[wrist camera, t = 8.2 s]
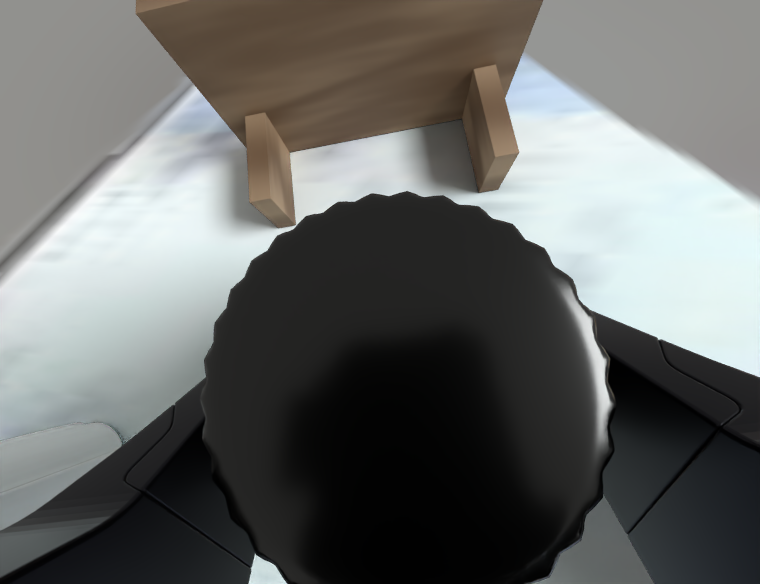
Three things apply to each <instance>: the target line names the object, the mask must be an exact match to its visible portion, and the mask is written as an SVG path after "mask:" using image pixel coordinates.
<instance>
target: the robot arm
mask: <svg viewBox="0 0 760 584" xmlns="http://www.w3.org/2000/svg"><path fill="white" fill-rule="evenodd" d="M590 311H591V310H590ZM591 312H592V313H593V314H594V316H595V319H596V326H597V339H598V341H599V343H600V344H601V345H602V346H603V348H604V349H605V351H606V352H607V354H608V356H609V358H610V367H609V375H608V383H609V385H610V388H611V390H612V392H613V394H614V397H615V400H616V403H617V406H616V409H615V413H614V416H613V419H612V422H611V424H610V431H611V435H612V437H613V442H614V448H615V452H614V454H613V456H612V458H611V459H610V461H609V463H608V464H607V466H606V468H605V469H604V471H603V494H604V495H605V497H606V499H607V501H608V502H609V504H610V506H611V508H612V510H613V511H614V513H615V515H616V517H617V518H618V520H619V522H620V524H621V525H622V527H623V529H624V531H625V532H626V533H627V534H628V538H629V540H630V542H631V543H632V545H633V547H634V549H635V550H636V552H637V554H638V556H639V557H640V559H641V561H642V563H643V564H644V566H645V568H646V570H647V572H648V573H649V575H650V577H651V579H652V580H653V582H654V584H760V377H757V376H755V375H752V374H749V373H746V372H744V371H741V370H738V369H735V368H733V367H730V366H727V365H725V364H722V363H719V362H716V361H714V360H711V359H709V358H706V357H704V356H701V355H699V354H696V353H694V352H691V351H688V350H686V349H683V348H681V347H679V346H676V345H674V344H671V343H669V342H667V341H664V340H658V338H657V337H654V336H652V335H649V334H647V333H645V332H642V331H640V330H637V329H635V328H632V327H630V326H628V325H625V324H623V323H620V322H618V321H615V320H613V319H611V318H608V317H606V316H603V315H601V314H598V313H596V312H594V311H591ZM205 382H206V378H205V379H203V380H202V381H201V382H200V383H199V384H197V385H196V386H195V387H194V388H193V389H191V390H190V391H189V392H188V393H187V394H185V395H184V396H183V397H182V398H181V399H179V400H178V401H177V402H176V403H175V405H172V406H171V407H170V408H168V409H167V410H166V411H165V412H164V413H162V414H161V415H160V416H159V417H158V418H156V419H155V420H154V421H153V422H151V423H150V424H149V425H148V426H147V427H145V428H144V429H143V430H142V431H140V432H139V433H138V434H137V435H135V436H134V437H133V438H131V439H130V440H129V441H127V442H126V443H125V444H124V445H122V446H121V447H120V448H118V449H117V450H116V451H114V452H113V453H112V454H111V455H109V456H108V457H107V458H105V459H104V460H103V461H101V462H100V463H99V464H97V465H96V466H95V467H93V468H92V469H91V470H89V471H88V472H87V473H85V474H84V475H83V476H81V477H80V478H79V479H77V480H76V481H75V482H73V483H72V484H71V485H69V486H68V487H67V488H65V489H64V490H63V491H61V492H60V493H59V494H57V495H56V496H55V497H53V498H52V499H51V500H49V501H48V502H47V503H45V504H44V505H43V506H41V507H40V508H38V509H37V510H36V511H34V512H32V513H31V514H29V515H28V516H26V517H24V518H23V519H21V520H19V521H18V522H16V523H14V524H12V525H10V526H8V527H7V528H5V529H2V530H0V584H248V583H249V579H250V574H251V567H252V564H253V560H254V555H255V551H254V549H253V547H252V545H251V542H250V540H249V537H248V534H247V532H245V531H244V530H243V529H242V528H241V527H239V526H237V525H236V524H235V523H234V522H233V521H232V520H231V519H230V516H229V512H228V508H227V503H226V497H225V495H224V494H223V493H222V491H221V490H220V489H218V487H217V486H216V485H215V483H214V482H213V481H212V473H211V456H210V454H209V453H208V451H207V449H206V447H205V445H204V443H203V440H202V434H203V428H204V424H205V415H204V412H203V409H202V406H201V402H200V396H201V393H202V389H203V387H204V385H205Z"/></svg>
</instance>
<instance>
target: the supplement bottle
mask: <svg viewBox="0 0 760 584" xmlns="http://www.w3.org/2000/svg"><path fill="white" fill-rule="evenodd" d="M204 364H205V373H206V382H205V385H204V387H203V389H202V393H201V396H200V402H201V406H202V409H203V412H204V415H205V424H204V428H203V434H202V440H203V443H204V445H205V447H206V449H207V451H208V453H209V454H210V456H211V473H212V481H213V482H214V483H215V485H216V486H217V487H218V489H220V490H221V491H222V493H223V494H224V495H225V497H226V503H227V508H228V512H229V516H230V519H231V520H232V521H233V522H234V523H235V524H236V525H237V526H239V527H241V528H242V529H243V530H244V531H245V532H247V534H248V537H249V540H250V542H251V545H252V547H253V549H254V551H255V554H256V555H257V556H259V557H260V558H262V559H264V560H265V561H269V562H271V563H272V564H274V565H276V567H277V569H278V570H279V572H280V574H281V575H282V577H283V578H284V580H285V581H286V583H287V584H532V583H535V582H538V581H541V580H544V579H546V578H549V577H550V575H551V574H552V572H553V570H554V568H555V566H556V563H557V561H558V558H559V556H560V554H561V553H562V552H564V551H566V550H567V549H569V548H571V547H572V546H574V545H575V544H577V543H578V542H579V541H581V538H582V535H583V531H584V522H585V518H586V515H587V514H588V513H589V512H590V511H591V510H592V509H593V508H594V507H595V506H596V505H597V504H598V503H599V501H600V500H601V499H602V498H603V471H604V469H605V468H606V466H607V464H608V463H609V461H610V459H611V458H612V456H613V454H614V452H615V448H614V442H613V437H612V435H611V431H610V424H611V422H612V419H613V416H614V413H615V409H616V406H617V403H616V400H615V397H614V394H613V392H612V390H611V388H610V385H609V383H608V375H609V367H610V358H609V356H608V354H607V352H606V351H605V349H604V348H603V346H602V345H601V344H600V343H599V341H598V339H597V326H596V319H595V316H594V314H593V313H592V312H591V311H590V310H589V309H588V308H587V307H586V306H585V305H583V304H582V302H581V301H580V300H579V298H578V296H577V291H576V287H575V284H574V281H573V279H572V278H570V277H569V276H568V275H567V274H565V273H564V272H562V271H561V270H559V269H558V268H556V267H554V265H553V264H552V262H551V259H550V257H549V255H548V253H547V252H546V250H545V248H543V247H541V246H539V245H537V244H535V243H532V242H530V241H527V240H525V239H524V237H523V236H522V235H521V233H520V232H519V231H518V229H517V228H516V227H515V226H514V225H513V224H511V223H508V222H504V221H500V220H496V219H492V218H491V217H490V216H489V215H488V214H487V213H486V212H485V211H484V210H483V209H481V208H480V207H479V206H471V205H458V204H456V203H454V202H453V201H452V200H451V199H449V198H447V197H445V196H443V195H442V196H431V197H421V196H418V195H417V194H414V193H411V192H408V191H406V192H402V193H398V194H395V195H392V196H385V195H380V194H369V195H367V196H365V197H363V198H361V199H359V200H358V201H356V202H347V201H346V202H337V203H336V204H334V205H333V206H331V207H330V208H329V209H327V210H326V211H325V212H324V213H320V214H313V215H309V216H306V217H305V218H304V219H303V220H302V221H301V222H300V223H299V224H298V225H297V226H296V227H295V228H294V229H293V230H291V231H289V232H285V233H282V234H280V235H278V236H277V237H276V238H275V239H274V241H273V242H272V244H271V245H270V247H269V249H268V250H267V251H266V252H264V253H263V254H261V255H259V256H258V257H256V258H255V259H253V260H252V261H251V263H250V265H249V267H248V270H247V272H246V275H245V277H244V278H243V279H242V280H241V281H240V282H239V283H237V284H236V285H235V286H234V287H233V288H232V289H231V291H230V294H229V298H228V303H227V308H226V309H225V310H224V311H223V313H222V314H221V315H220V316H219V318H218V319H217V321H216V322H215V325H214V342H213V344H212V346H211V348H210V349H209V351H208V353H207V355H206V357H205V359H204Z"/></svg>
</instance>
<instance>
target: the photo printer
mask: <svg viewBox="0 0 760 584" xmlns="http://www.w3.org/2000/svg"><path fill="white" fill-rule="evenodd" d="M121 446H122V442H121V439H120V437H119V435H118V434H117V433H116V431H115V430H114V429H113V428H111V427H110V426H108V425H106V424H103V423H89V424H85V425H84V424H83V423H81V422H78V423H72V424H67V425H63V426H59V427H54V428H50V429H46V430H42V431H38V432H34V433H30V434H26V435H22V436H18V437H13V438H10V439H6V440H1V441H0V530H2V529H5V528H7V527H8V526H10V525H12V524H14V523H16V522H18V521H19V520H21V519H23V518H24V517H26V516H28V515H29V514H31V513H32V512H34V511H36V510H37V509H38V508H40V507H41V506H43V505H44V504H45V503H47V502H48V501H49V500H51V499H52V498H53V497H55V496H56V495H57V494H59V493H60V492H61V491H63V490H64V489H65V488H67V487H68V486H69V485H71V484H72V483H73V482H75V481H76V480H77V479H79V478H80V477H81V476H83V475H84V474H85V473H87V472H88V471H89V470H91V469H92V468H93V467H95V466H96V465H97V464H99V463H100V462H101V461H103V460H104V459H105V458H107V457H108V456H109V455H111V454H112V453H113V452H114V451H116V450H117V449H118V448H120V447H121Z"/></svg>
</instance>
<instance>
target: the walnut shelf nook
mask: <svg viewBox="0 0 760 584" xmlns="http://www.w3.org/2000/svg"><path fill="white" fill-rule="evenodd" d="M542 2H543V0H136V15H137V16H138V17H139V18H140V19H141V21H142V22H143V23H144V24H145V26H146V27H147V28H148V29H149V30H150V31H151V33H152V34H153V35H154V36H155V38H156V39H157V40H158V41H159V42H160V44H161V45H162V46H163V47H164V49H165V50H166V51H167V52H168V53H169V55H170V56H171V57H172V58H173V59H174V61H175V62H176V63H177V64H178V66H179V67H180V68H181V69H182V70H183V72H184V73H185V74H186V75H187V76H188V78H189V79H190V80H191V81H192V83H193V84H194V85H195V86H196V87H197V89H198V90H199V91H200V92H201V93H202V95H203V96H204V97H205V98H206V100H207V101H208V102H209V103H210V104H211V106H212V107H213V108H214V109H215V110H216V112H217V113H218V114H219V115H220V117H221V118H222V119H223V120H224V121H225V123H226V124H227V125H228V126H229V127H230V129H231V130H232V131H233V132H234V134H235V135H236V136H237V137H238V138H239V140H240V141H241V142H242V143H243V144H244V146H245V147H246V148H247V163H248V183H249V202H250V203H251V204H252V205H253V206H254V207H255V208H257V209H258V210H259V211H260V212H261V213H262V214H263V215H264V216H265V217H267V218H268V219H269V220H270V221H271V222H272V223H273V224H274V225H275V226H277V227H278V228H282V227H287V226H293V225H296V222H295V210H294V199H293V187H292V175H291V163H290V152H294V151H299V150H304V149H309V148H314V147H320V146H325V145H330V144H335V143H340V142H345V141H350V140H355V139H361V138H366V137H371V136H376V135H381V134H386V133H391V132H396V131H402V130H407V129H412V128H417V127H422V126H427V125H432V124H437V123H443V122H448V121H453V120H458V119H462V121H463V125H464V130H465V134H466V139H467V143H468V147H469V152H470V156H471V161H472V165H473V170H474V174H475V178H476V183H477V187H478V192H479V193H481V192H486V191H492V190H498V189H499V187H500V185H501V183H502V182H503V180H504V178H505V176H506V175H507V173H508V171H509V169H510V168H511V166H512V164H513V162H514V161H515V159H516V157H517V156H518V154H519V150H518V146H517V142H516V139H515V135H514V131H513V127H512V124H511V120H510V116H509V112H508V108H507V105H506V101H505V97H506V94H507V92H508V89H509V87H510V84H511V82H512V79H513V76H514V74H515V71H516V69H517V66H518V64H519V61H520V58H521V56H522V53H523V51H524V48H525V45H526V43H527V41H528V38H529V35H530V33H531V30H532V27H533V25H534V23H535V20H536V17H537V15H538V12H539V10H540V7H541V5H542Z"/></svg>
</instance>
